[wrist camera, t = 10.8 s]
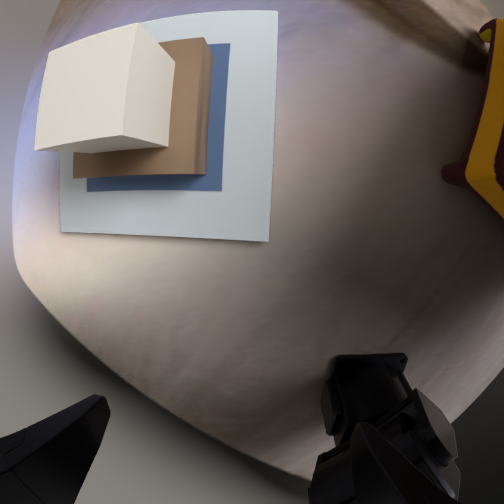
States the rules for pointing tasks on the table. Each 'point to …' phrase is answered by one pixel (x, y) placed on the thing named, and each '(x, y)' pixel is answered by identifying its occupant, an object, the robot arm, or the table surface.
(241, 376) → the table surface
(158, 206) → the board
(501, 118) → the decorative lantern
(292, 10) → the table surface
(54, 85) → the plastic cube
